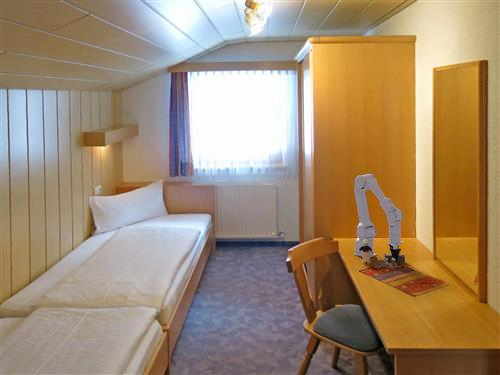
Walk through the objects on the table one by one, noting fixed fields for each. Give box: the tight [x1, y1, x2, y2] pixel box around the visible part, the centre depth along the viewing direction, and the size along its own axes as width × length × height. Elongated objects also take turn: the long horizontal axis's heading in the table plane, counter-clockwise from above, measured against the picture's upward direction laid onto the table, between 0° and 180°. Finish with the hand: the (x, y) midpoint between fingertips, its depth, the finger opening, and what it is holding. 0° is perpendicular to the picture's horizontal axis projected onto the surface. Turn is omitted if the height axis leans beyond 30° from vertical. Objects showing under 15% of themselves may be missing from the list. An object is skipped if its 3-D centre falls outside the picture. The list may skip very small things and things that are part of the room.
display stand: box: [374, 257, 399, 269], centre depth 266 cm, size 11×6×4 cm, turn 78°
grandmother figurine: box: [358, 239, 374, 265], centre depth 273 cm, size 8×4×13 cm, turn 84°
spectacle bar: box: [383, 253, 406, 264], centre depth 273 cm, size 10×3×4 cm, turn 78°
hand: (394, 259), depth 273 cm, fingers open, 7 cm apart
